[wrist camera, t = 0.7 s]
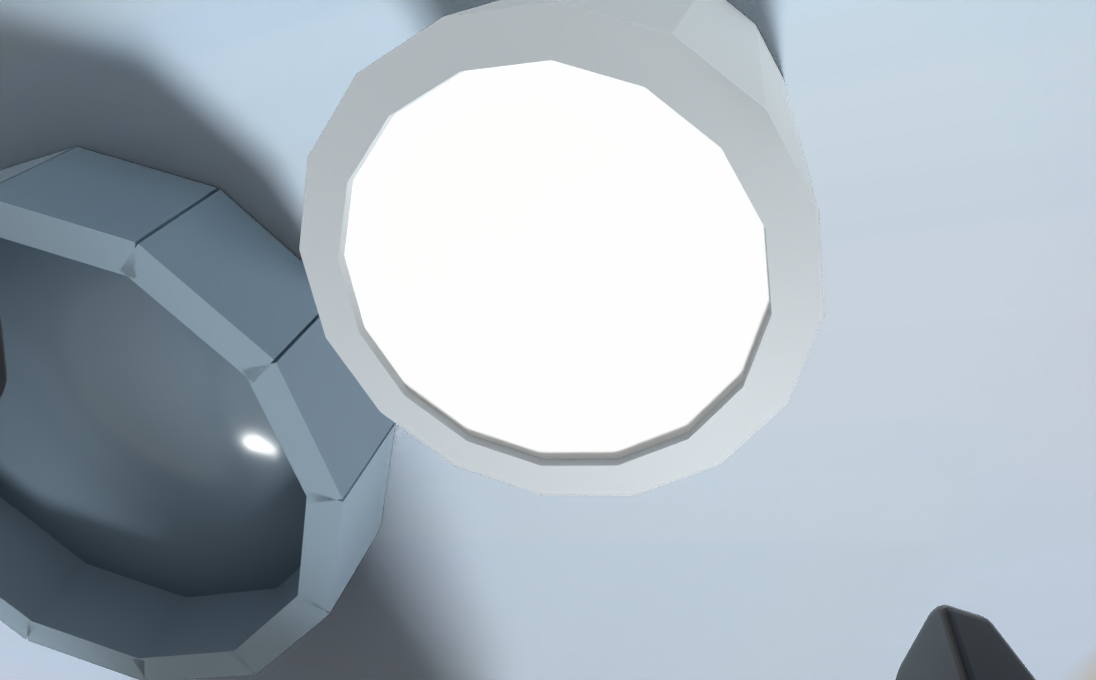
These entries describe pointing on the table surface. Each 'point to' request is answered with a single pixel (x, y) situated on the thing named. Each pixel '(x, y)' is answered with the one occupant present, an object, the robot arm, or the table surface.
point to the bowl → (170, 427)
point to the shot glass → (570, 240)
